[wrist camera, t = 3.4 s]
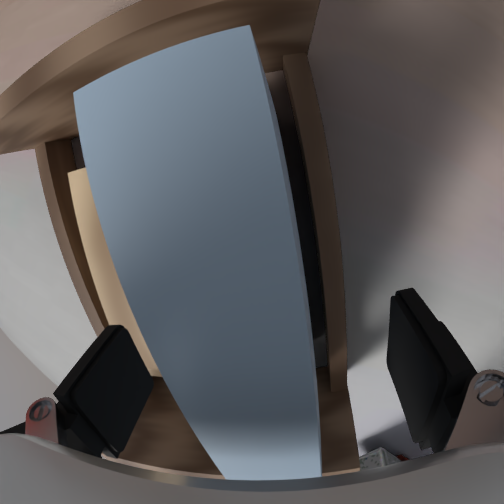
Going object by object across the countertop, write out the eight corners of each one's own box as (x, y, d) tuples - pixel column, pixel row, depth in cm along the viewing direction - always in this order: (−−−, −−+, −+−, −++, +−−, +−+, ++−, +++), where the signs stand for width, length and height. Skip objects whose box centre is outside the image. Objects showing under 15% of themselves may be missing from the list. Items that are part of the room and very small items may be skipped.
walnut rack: (299, 50, 14) (312, -40, 5) (343, 373, 22) (358, 474, 13) (58, 131, 17) (-44, 144, 8) (147, 383, 25) (107, 460, 16)
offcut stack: (169, 132, 17) (134, 131, 13) (212, 357, 23) (198, 398, 19) (102, 149, 18) (59, 155, 14) (154, 354, 24) (133, 390, 20)
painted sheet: (277, 117, 16) (249, 24, 3) (313, 339, 21) (322, 515, 8) (228, 127, 17) (72, 92, 4) (274, 344, 22) (256, 518, 9)
